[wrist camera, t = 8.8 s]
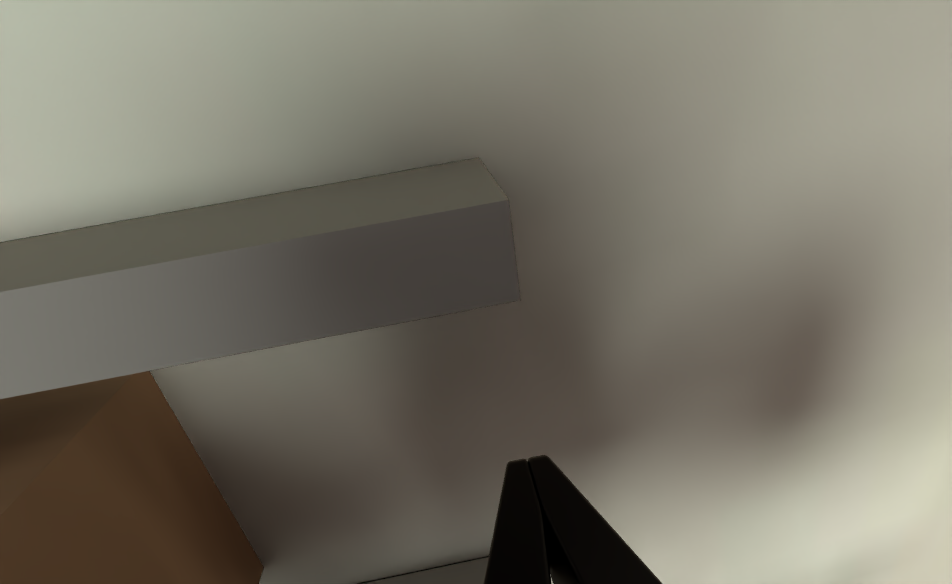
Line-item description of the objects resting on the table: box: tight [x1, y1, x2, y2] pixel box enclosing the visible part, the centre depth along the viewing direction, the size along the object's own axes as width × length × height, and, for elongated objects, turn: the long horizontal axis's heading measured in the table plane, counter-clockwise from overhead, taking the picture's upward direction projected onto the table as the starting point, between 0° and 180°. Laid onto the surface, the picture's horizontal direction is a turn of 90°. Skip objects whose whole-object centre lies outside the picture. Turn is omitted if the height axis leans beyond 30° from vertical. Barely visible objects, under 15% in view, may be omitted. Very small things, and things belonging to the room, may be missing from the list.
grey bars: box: [0, 158, 521, 584], centre depth 9 cm, size 14×13×3 cm
